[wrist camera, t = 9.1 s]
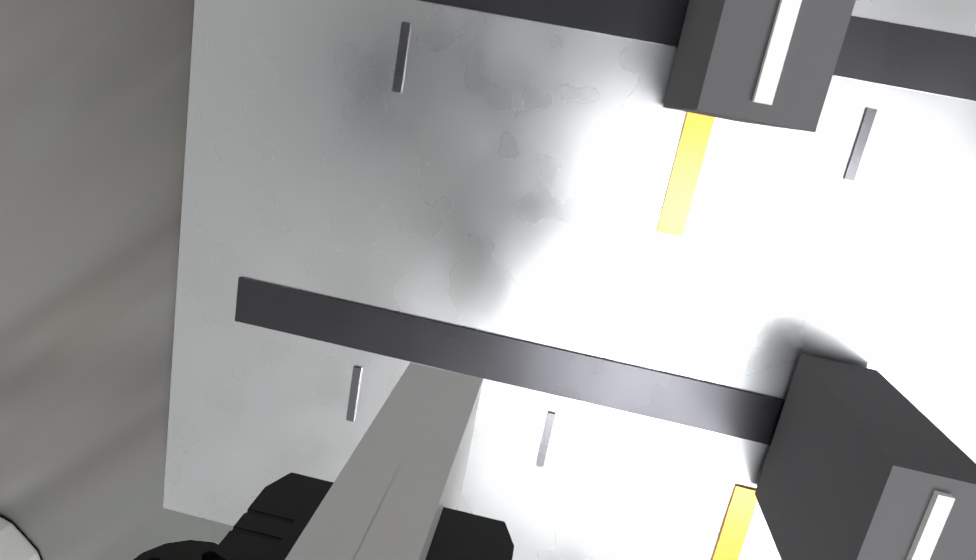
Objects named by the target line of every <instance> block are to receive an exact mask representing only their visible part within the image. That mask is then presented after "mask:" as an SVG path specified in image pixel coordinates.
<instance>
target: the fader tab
mask: <svg viewBox="0 0 976 560" xmlns="http://www.w3.org/2000/svg"><path fill="white" fill-rule="evenodd" d="M755 496H756V499H757V501H758V504H759V506H760V509H761V511H762V513H763V516H764V518H765V521H766V523H767V526H768V528H769V530H770V533H771V535H772V538H773V540H774V543H775V545H776V547H777V550H778V552H779V555H780V557H781V560H974V559H975V557H976V463H975V462H973V461H972V460H971V459H970V458H969V457H968V456H967V455H966V454H965V453H964V452H963V451H962V450H961V449H960V448H959V447H958V446H957V445H955V444H954V443H953V442H952V441H951V440H950V439H949V438H948V437H947V436H946V435H945V434H944V433H943V432H942V431H941V430H940V429H939V428H938V427H936V426H935V425H934V424H933V423H932V422H931V421H930V420H929V419H928V418H927V417H926V416H925V415H924V414H923V413H922V412H921V411H920V410H918V409H917V408H916V407H915V406H914V405H913V404H912V403H911V402H910V401H909V400H908V399H907V398H906V397H905V396H904V395H903V394H902V393H901V392H899V391H898V390H897V389H896V388H895V387H894V386H893V385H892V384H891V383H890V382H889V381H888V380H887V379H886V378H885V377H884V376H883V375H881V374H880V373H879V372H878V371H877V370H874V369H870V368H865V367H860V366H856V365H851V364H847V363H842V362H838V361H833V360H828V359H824V358H819V357H815V356H810V355H806V354H801V355H800V358H799V361H798V364H797V367H796V370H795V373H794V376H793V379H792V382H791V385H790V388H789V391H788V394H787V397H786V400H785V403H784V406H783V409H782V412H781V415H780V418H779V421H778V424H777V427H776V430H775V433H774V436H773V439H772V442H771V445H770V448H769V451H768V454H767V457H766V461H765V464H764V467H763V470H762V473H761V476H760V479H759V482H758V485H757V488H756V491H755Z"/></svg>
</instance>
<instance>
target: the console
mask: <svg viewBox="0 0 976 560" xmlns="http://www.w3.org/2000/svg"><path fill="white" fill-rule="evenodd" d="M688 4H689V0H195V3H194V19H193V35H192V51H191V68H190V84H189V100H188V116H187V132H186V148H185V164H184V180H183V196H182V212H181V228H180V244H179V261H178V277H177V293H176V309H175V325H174V341H173V357H172V373H171V389H170V405H169V421H168V437H167V454H166V470H165V486H164V502H163V508H166V509H170V510H174V511H178V512H182V513H186V514H189V515H193V516H197V517H201V518H205V519H208V520H212V521H216V522H220V523H224V524H228V525H231V526H234V525H235V524H236V523H237V521H238V520H239V519H240V518H241V516H242V515H243V514H244V513H247V510H248V508H249V506H250V505H251V504H252V503H253V501H254V500H255V499H256V498H257V496H258V495H259V494H260V493H261V491H262V490H263V489H264V488H265V487H266V486H268V485H270V484H271V483H273V482H275V481H277V480H278V479H280V478H282V477H284V476H286V475H287V474H289V473H291V472H292V473H297V474H301V475H305V476H309V477H313V478H317V479H321V480H325V481H329V482H335V480H336V478H337V477H338V475H339V474H340V472H341V471H342V469H343V467H344V466H345V464H346V463H347V461H348V460H349V458H350V456H351V455H352V453H353V452H354V450H355V449H356V447H357V445H358V444H359V442H360V441H361V439H362V438H363V436H364V434H365V433H366V431H367V430H368V428H369V427H370V425H371V423H372V422H373V420H374V419H375V417H376V415H377V414H378V412H379V411H380V409H381V408H382V406H383V404H384V403H385V401H386V400H387V398H388V397H389V395H390V393H391V392H392V390H393V389H394V387H395V386H396V384H397V382H398V381H399V379H400V378H401V376H402V375H403V373H404V371H405V370H406V368H407V367H408V365H409V364H410V362H412V363H417V364H421V365H425V366H430V367H434V368H439V369H443V370H448V371H452V372H457V373H461V374H465V375H470V376H474V377H479V378H483V383H482V388H481V394H480V399H479V404H478V409H477V415H476V420H475V425H474V430H473V435H472V441H471V446H470V451H469V456H468V462H467V467H466V472H465V477H464V483H463V488H462V493H461V497H460V500H459V503H458V507H457V510H458V511H463V512H467V513H471V514H475V515H479V516H483V517H487V518H491V519H496V520H500V521H504V522H505V523H506V526H507V529H508V531H509V534H510V536H511V539H512V542H513V544H514V551H513V557H512V560H781V557H780V555H779V552H778V550H777V547H776V545H775V543H774V540H773V538H772V535H771V533H770V530H769V528H768V526H767V523H766V521H765V518H764V516H763V513H762V511H761V509H760V506H759V504H758V501H757V499H756V496H755V491H756V488H757V485H758V482H759V479H760V476H761V473H762V470H763V467H764V464H765V461H766V457H767V454H768V451H769V448H770V445H771V442H772V439H773V436H774V433H775V430H776V427H777V424H778V421H779V418H780V415H781V412H782V409H783V406H784V403H785V400H786V397H787V394H788V391H789V388H790V385H791V382H792V379H793V376H794V373H795V370H796V367H797V364H798V361H799V358H800V355H801V354H806V355H810V356H815V357H819V358H824V359H828V360H833V361H838V362H842V363H847V364H851V365H856V366H860V367H865V368H870V369H874V370H877V371H878V372H879V373H880V374H881V375H883V376H884V377H885V378H886V379H887V380H888V381H889V382H890V383H891V384H892V385H893V386H894V387H895V388H896V389H897V390H898V391H899V392H901V393H902V394H903V395H904V396H905V397H906V398H907V399H908V400H909V401H910V402H911V403H912V404H913V405H914V406H915V407H916V408H917V409H918V410H920V411H921V412H922V413H923V414H924V415H925V416H926V417H927V418H928V419H929V420H930V421H931V422H932V423H933V424H934V425H935V426H936V427H938V428H939V429H940V430H941V431H942V432H943V433H944V434H945V435H946V436H947V437H948V438H949V439H950V440H951V441H952V442H953V443H954V444H955V445H957V446H958V447H959V448H960V449H961V450H962V451H963V452H964V453H965V454H966V455H967V456H968V457H969V458H970V459H971V460H972V461H973V462H975V463H976V0H856V1H855V5H854V8H853V11H852V14H851V18H850V21H849V24H848V27H847V31H846V34H845V37H844V40H843V44H842V47H841V50H840V53H839V57H838V60H837V63H836V66H835V70H834V73H833V76H832V79H831V83H830V86H829V89H828V92H827V96H826V99H825V102H824V105H823V109H822V112H821V115H820V118H819V122H818V125H817V128H816V131H815V132H808V131H801V130H794V129H787V128H780V127H772V126H765V125H758V124H751V123H744V122H738V121H733V120H727V119H722V118H717V117H711V116H706V115H701V114H696V113H690V112H685V111H680V110H675V109H669V108H664V107H663V105H664V101H665V97H666V93H667V89H668V85H669V81H670V77H671V73H672V69H673V65H674V61H675V57H676V52H677V48H678V44H679V40H680V36H681V32H682V28H683V24H684V20H685V16H686V12H687V8H688Z"/></svg>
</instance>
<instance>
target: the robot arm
mask: <svg viewBox="0 0 976 560" xmlns="http://www.w3.org/2000/svg"><path fill="white" fill-rule="evenodd" d="M482 383H483V378H479V377H474V376H470V375H465V374H461V373H457V372H452V371H448V370H443V369H439V368H434V367H430V366H425V365H421V364H417V363H412V362H410V364H409V365H408V367H407V368H406V370H405V371H404V373H403V375H402V376H401V378H400V379H399V381H398V382H397V384H396V386H395V387H394V389H393V390H392V392H391V393H390V395H389V397H388V398H387V400H386V401H385V403H384V404H383V406H382V408H381V409H380V411H379V412H378V414H377V415H376V417H375V419H374V420H373V422H372V423H371V425H370V427H369V428H368V430H367V431H366V433H365V434H364V436H363V438H362V439H361V441H360V442H359V444H358V445H357V447H356V449H355V450H354V452H353V453H352V455H351V456H350V458H349V460H348V461H347V463H346V464H345V466H344V467H343V469H342V471H341V472H340V474H339V475H338V477H337V478H336V480H335V482H329V481H325V480H321V479H317V478H313V477H309V476H305V475H301V474H297V473H292V472H291V473H289V474H287V475H286V476H284V477H282V478H280V479H278V480H277V481H275V482H273V483H271V484H270V485H268V486H266V487H265V488H264V489H263V490H262V491H261V493H260V494H259V495H258V496H257V498H256V499H255V500H254V501H253V503H252V504H251V505H250V506H249V508H248V510H247V513H244V514H243V515H242V516H241V518H240V519H239V520H238V521H237V523H236V524H235V525H234V528H233V530H232V531H229V533H228V534H227V535H226V536H225V538H224V539H223V540H222V542H221V543H220V544H219V545H218V544H215V543H213V542H203V541H194V540H188V541H181V542H174V543H167V544H164V545H161V546H159V547H156V548H154V549H151V550H149V551H146V552H144V553H142V554H140V555H139V556H138V557H137V558H135V559H134V560H512V557H513V551H514V544H513V542H512V539H511V536H510V534H509V531H508V529H507V526H506V523H505V522H504V521H500V520H496V519H491V518H487V517H483V516H479V515H475V514H471V513H467V512H463V511H458V510H457V507H458V503H459V500H460V497H461V493H462V488H463V483H464V477H465V472H466V467H467V462H468V456H469V451H470V446H471V441H472V435H473V430H474V425H475V420H476V415H477V409H478V404H479V399H480V394H481V388H482Z"/></svg>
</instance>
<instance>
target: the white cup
mask: <svg viewBox="0 0 976 560" xmlns="http://www.w3.org/2000/svg"><path fill="white" fill-rule="evenodd" d="M0 560H41V559H40V556H39V554H38V552H37V550H36V549H35V548H34V547H33V546H32V545H31V544H30V542H29V541H28V540H27V539H26V538H25V537H24V536H23V535H22V533H21V532H20V531H19V530H18V529H17V528H16V527H15V526H14V525H13V524H12V523H10V522H9V521H7V520H5V519H3V518H1V517H0Z"/></svg>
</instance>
